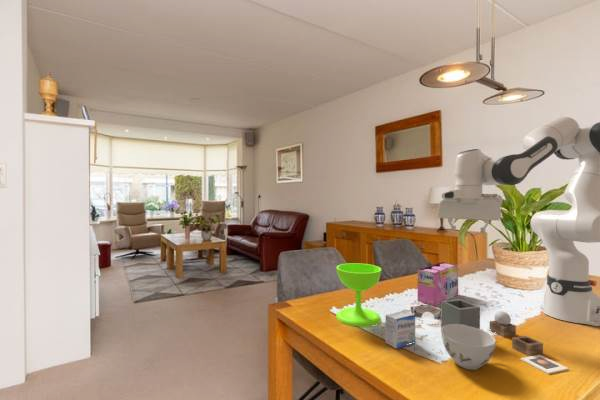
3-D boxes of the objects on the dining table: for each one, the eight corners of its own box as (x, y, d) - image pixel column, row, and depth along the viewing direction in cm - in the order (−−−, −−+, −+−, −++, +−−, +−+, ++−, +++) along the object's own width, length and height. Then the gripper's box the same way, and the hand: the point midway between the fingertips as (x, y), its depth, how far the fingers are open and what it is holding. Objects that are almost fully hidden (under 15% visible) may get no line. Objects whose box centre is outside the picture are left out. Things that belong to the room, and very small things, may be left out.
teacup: (470, 382, 72) (470, 348, 72) (430, 356, 83) (430, 327, 83) (514, 370, 77) (514, 338, 77) (470, 347, 89) (470, 319, 89)
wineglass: (384, 313, 114) (384, 265, 114) (376, 330, 100) (376, 275, 99) (343, 307, 121) (343, 261, 121) (329, 321, 106) (330, 270, 106)
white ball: (501, 321, 101) (501, 308, 101) (514, 327, 97) (514, 313, 97) (491, 323, 100) (491, 309, 100) (503, 328, 96) (503, 314, 96)
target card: (539, 355, 84) (539, 353, 84) (568, 369, 77) (568, 367, 77) (520, 359, 82) (520, 357, 82) (548, 374, 75) (548, 371, 75)
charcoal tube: (460, 329, 101) (460, 299, 101) (479, 339, 93) (480, 307, 93) (441, 332, 98) (441, 301, 98) (459, 342, 91) (459, 309, 91)
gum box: (442, 290, 144) (442, 261, 144) (460, 294, 138) (460, 264, 138) (416, 301, 128) (417, 269, 128) (435, 306, 122) (435, 272, 122)
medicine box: (396, 349, 87) (396, 319, 87) (385, 343, 91) (385, 314, 91) (415, 343, 91) (415, 314, 91) (404, 337, 95) (404, 309, 95)
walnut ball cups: (501, 328, 101) (501, 319, 101) (553, 352, 86) (553, 341, 86) (479, 331, 99) (479, 322, 99) (529, 356, 83) (529, 345, 83)
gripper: (502, 194, 108) (502, 232, 108) (439, 194, 120) (439, 229, 120) (502, 193, 103) (502, 234, 103) (436, 193, 114) (436, 230, 114)
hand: (467, 231), depth 111 cm, fingers open, 8 cm apart
